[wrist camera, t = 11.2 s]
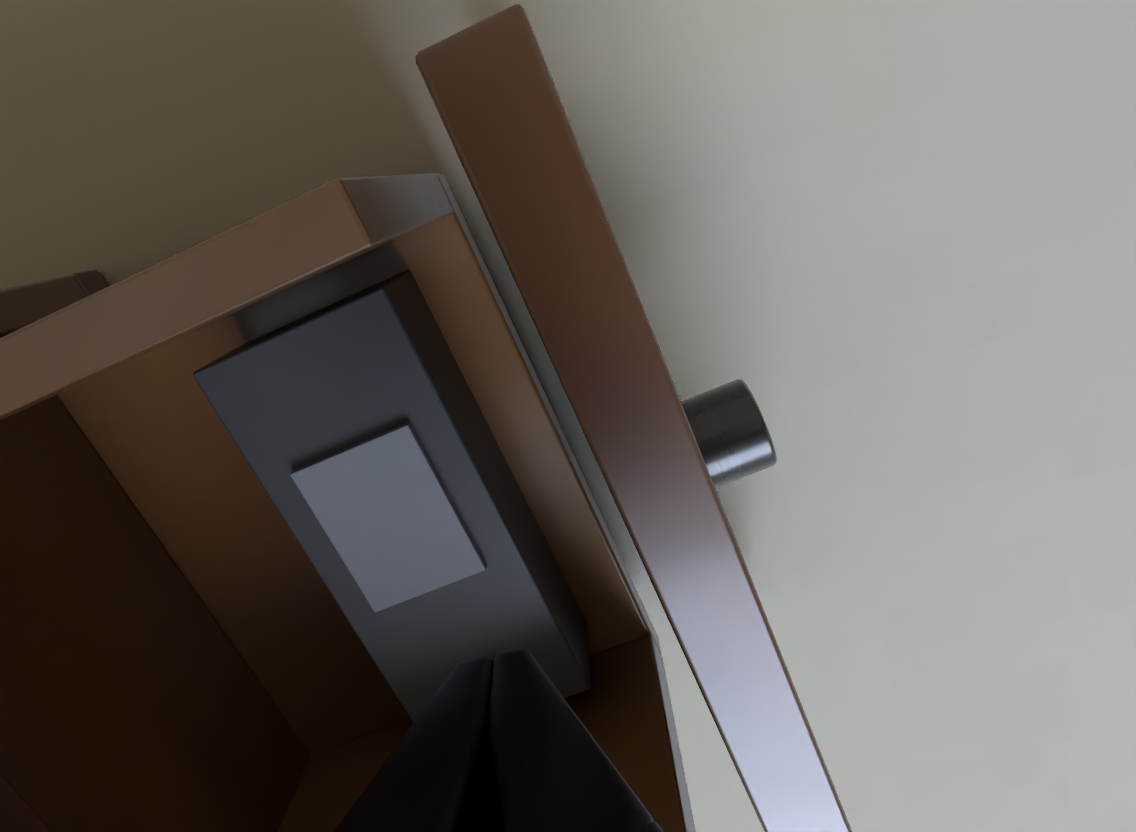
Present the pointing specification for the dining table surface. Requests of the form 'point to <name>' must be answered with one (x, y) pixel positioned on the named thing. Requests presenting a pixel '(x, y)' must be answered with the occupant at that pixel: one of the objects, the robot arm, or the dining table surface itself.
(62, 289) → the cabinet
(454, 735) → the robot arm
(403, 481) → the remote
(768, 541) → the dining table surface
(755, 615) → the drawer
